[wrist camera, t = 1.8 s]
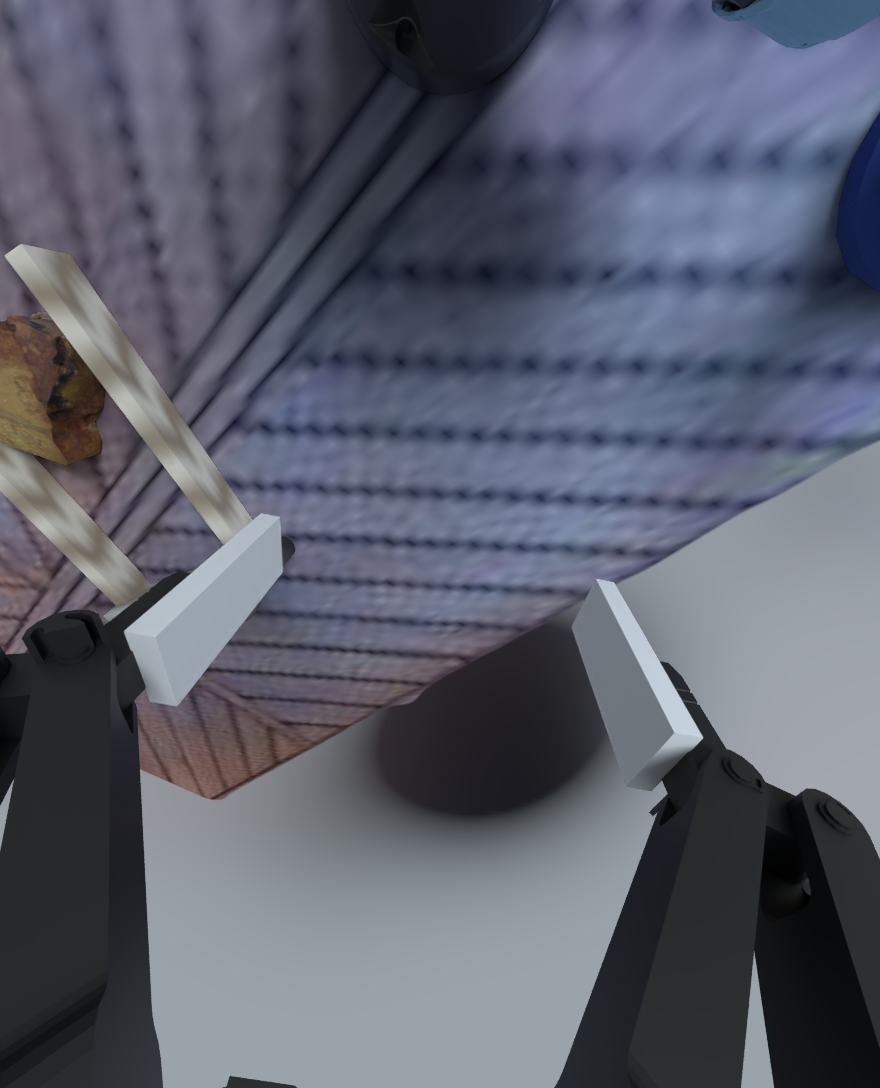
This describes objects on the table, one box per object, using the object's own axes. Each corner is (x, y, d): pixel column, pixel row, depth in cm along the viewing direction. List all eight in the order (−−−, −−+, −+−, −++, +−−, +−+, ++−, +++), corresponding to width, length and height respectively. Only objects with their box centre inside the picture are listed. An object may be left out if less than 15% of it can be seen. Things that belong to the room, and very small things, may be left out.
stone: (99, 467, 42) (54, 482, 37) (12, 422, 40) (-45, 432, 36) (117, 343, 35) (66, 342, 31) (15, 282, 33) (-56, 272, 29)
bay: (-79, 354, 37) (-285, 360, 27) (99, 234, 31) (-79, 183, 21) (156, 604, 52) (81, 668, 42) (306, 556, 46) (261, 616, 36)
